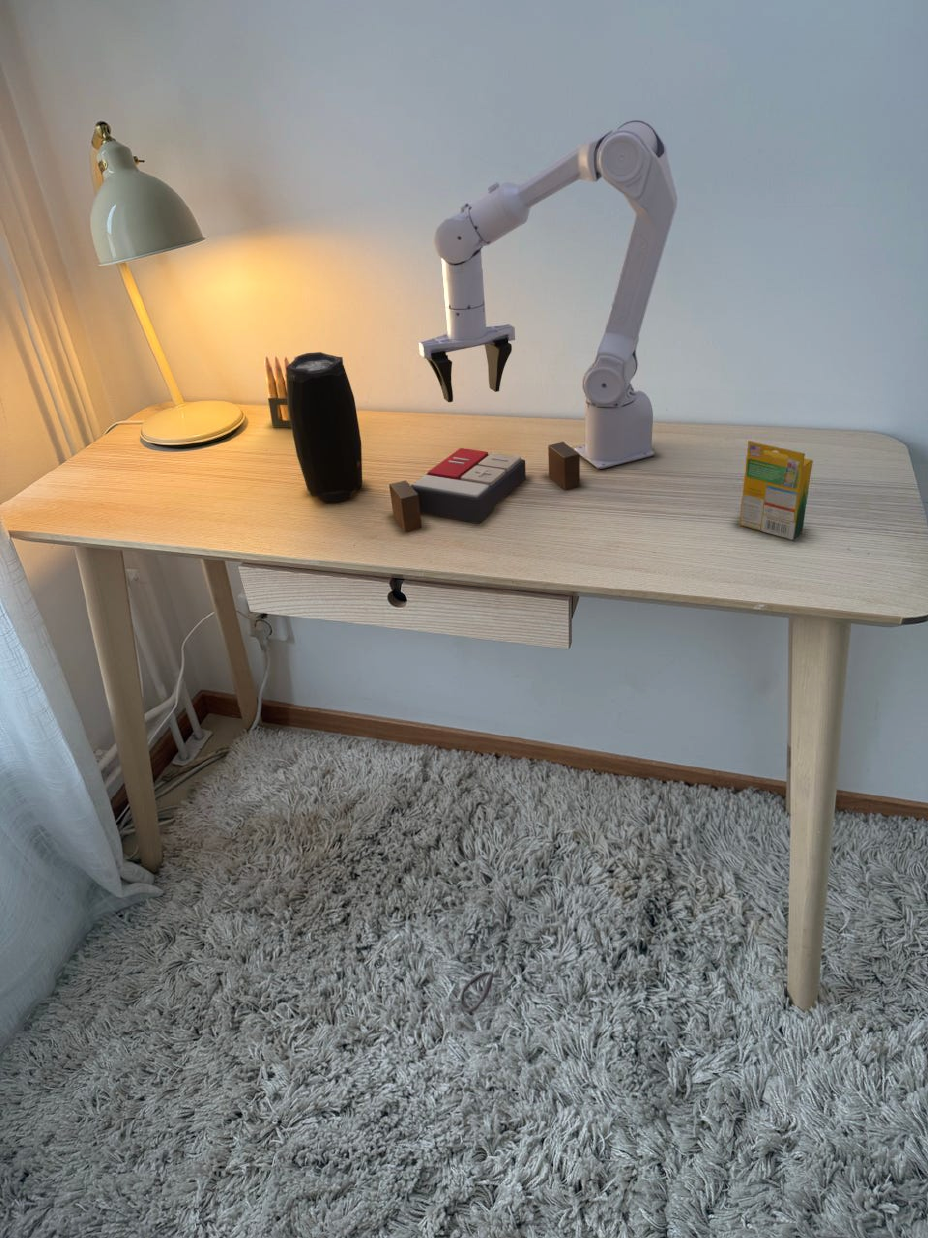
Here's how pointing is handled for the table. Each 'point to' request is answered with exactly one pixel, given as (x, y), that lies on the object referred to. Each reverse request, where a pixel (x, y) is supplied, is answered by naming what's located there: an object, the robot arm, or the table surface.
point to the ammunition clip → (277, 393)
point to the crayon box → (775, 490)
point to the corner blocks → (560, 470)
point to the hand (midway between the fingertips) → (471, 394)
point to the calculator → (469, 484)
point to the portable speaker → (324, 425)
